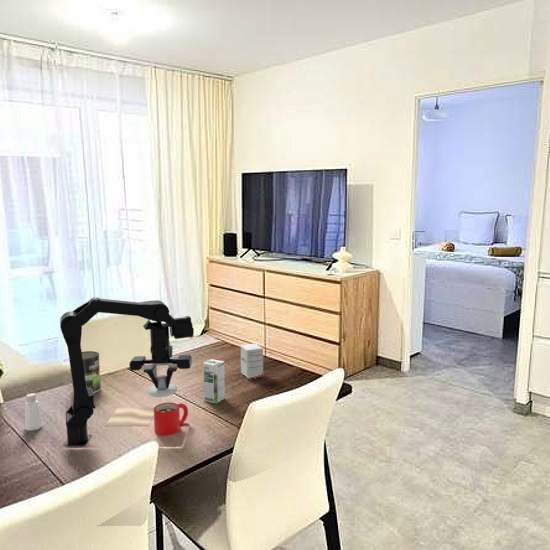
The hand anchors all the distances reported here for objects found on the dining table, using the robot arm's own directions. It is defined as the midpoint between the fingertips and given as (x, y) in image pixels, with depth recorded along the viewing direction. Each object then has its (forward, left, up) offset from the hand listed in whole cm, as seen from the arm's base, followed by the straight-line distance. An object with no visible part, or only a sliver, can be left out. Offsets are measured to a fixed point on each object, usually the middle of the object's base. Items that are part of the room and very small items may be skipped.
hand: (162, 388), depth 154 cm
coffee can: (+30, +36, -13) cm, 48 cm away
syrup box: (+20, -14, -13) cm, 28 cm away
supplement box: (+44, -27, -13) cm, 53 cm away
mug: (-2, -3, -13) cm, 14 cm away
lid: (0, 0, -1) cm, 1 cm away
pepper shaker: (0, +42, -13) cm, 44 cm away
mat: (+6, +12, -13) cm, 18 cm away
